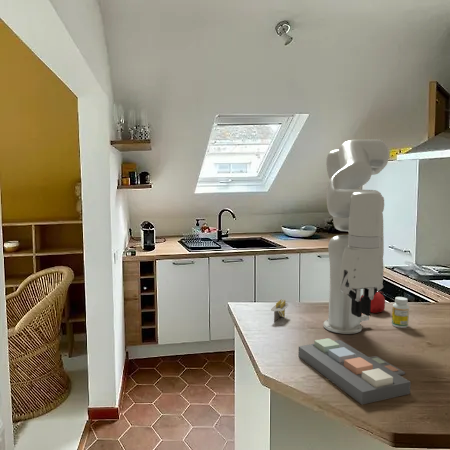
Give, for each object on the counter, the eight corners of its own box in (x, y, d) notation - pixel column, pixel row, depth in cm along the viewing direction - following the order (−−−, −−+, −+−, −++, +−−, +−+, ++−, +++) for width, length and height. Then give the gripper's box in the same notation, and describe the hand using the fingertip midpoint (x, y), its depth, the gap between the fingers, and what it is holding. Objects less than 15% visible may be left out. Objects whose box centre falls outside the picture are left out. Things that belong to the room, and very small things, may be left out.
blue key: (343, 356, 122) (343, 347, 122) (354, 363, 118) (355, 354, 117) (328, 359, 121) (328, 349, 120) (339, 366, 116) (339, 356, 116)
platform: (303, 314, 164) (303, 297, 164) (288, 330, 148) (289, 311, 147) (272, 310, 169) (272, 293, 169) (255, 325, 153) (255, 306, 152)
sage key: (328, 347, 129) (329, 338, 129) (339, 353, 124) (339, 344, 124) (314, 349, 127) (314, 340, 127) (323, 356, 122) (324, 346, 122)
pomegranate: (379, 306, 174) (380, 283, 173) (389, 314, 164) (391, 290, 163) (354, 306, 174) (355, 283, 172) (363, 314, 164) (364, 290, 163)
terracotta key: (359, 366, 116) (360, 357, 116) (372, 375, 111) (373, 364, 111) (343, 369, 114) (344, 359, 114) (356, 378, 110) (356, 368, 109)
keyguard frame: (339, 349, 132) (339, 339, 131) (409, 393, 106) (410, 381, 105) (298, 356, 127) (298, 346, 126) (361, 404, 101) (362, 392, 100)
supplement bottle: (405, 329, 149) (406, 301, 148) (389, 325, 152) (390, 298, 151) (410, 325, 153) (412, 298, 152) (394, 321, 156) (396, 295, 155)
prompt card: (376, 357, 126) (376, 355, 126) (405, 374, 116) (405, 371, 116) (362, 360, 124) (362, 357, 124) (389, 377, 114) (389, 374, 114)
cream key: (377, 378, 110) (378, 368, 109) (392, 387, 105) (393, 377, 105) (361, 382, 108) (361, 371, 107) (375, 391, 103) (375, 380, 103)
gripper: (379, 238, 115) (376, 307, 117) (327, 241, 109) (325, 313, 111) (400, 242, 108) (396, 315, 110) (346, 246, 102) (343, 323, 105)
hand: (360, 314), depth 111 cm, fingers closed
